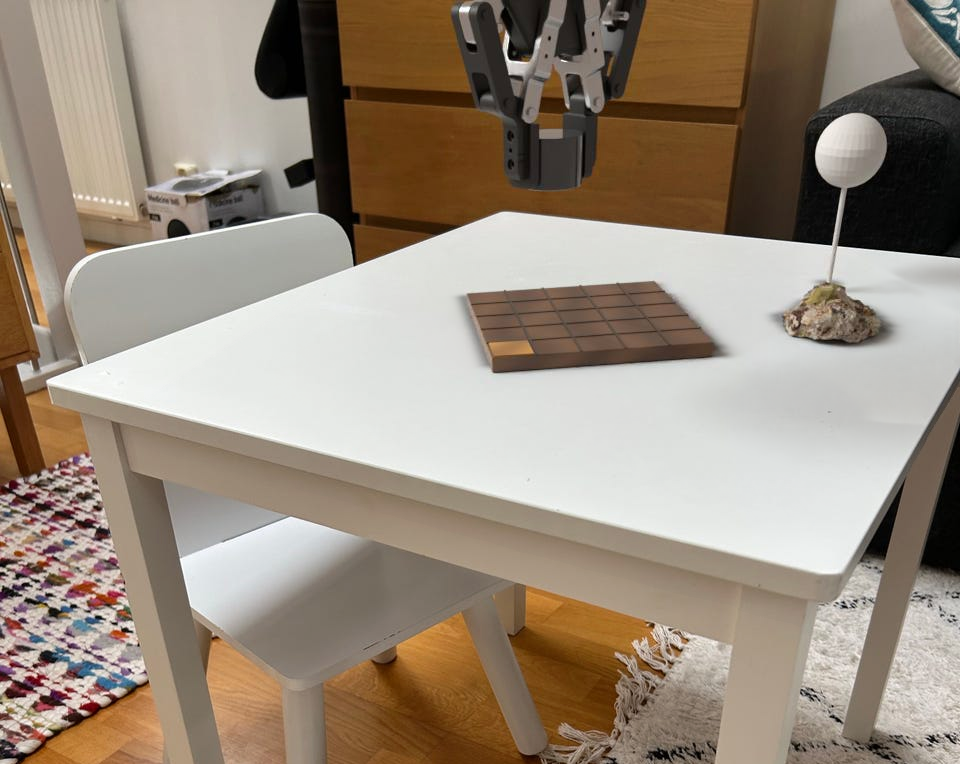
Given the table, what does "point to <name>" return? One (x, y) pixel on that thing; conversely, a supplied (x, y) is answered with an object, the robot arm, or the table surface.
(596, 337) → the board
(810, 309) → the mineral rock
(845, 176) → the lollipop
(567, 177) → the dark grey cylinder
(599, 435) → the table surface
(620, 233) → the table surface
